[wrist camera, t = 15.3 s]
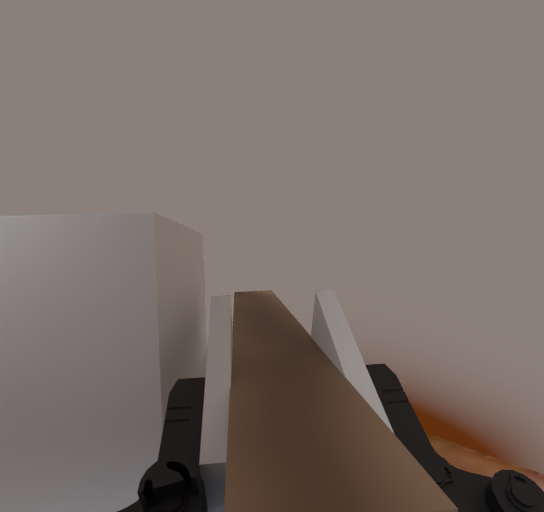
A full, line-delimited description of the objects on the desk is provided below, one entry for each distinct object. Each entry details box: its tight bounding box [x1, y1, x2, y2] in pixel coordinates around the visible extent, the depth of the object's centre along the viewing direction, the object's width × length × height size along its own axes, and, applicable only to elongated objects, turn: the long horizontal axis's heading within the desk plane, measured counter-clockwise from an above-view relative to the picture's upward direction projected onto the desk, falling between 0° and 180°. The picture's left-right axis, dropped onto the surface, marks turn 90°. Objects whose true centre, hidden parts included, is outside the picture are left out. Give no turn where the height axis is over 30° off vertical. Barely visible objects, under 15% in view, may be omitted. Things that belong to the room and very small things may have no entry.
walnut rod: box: [224, 291, 458, 512], centre depth 19 cm, size 4×28×4 cm, turn 6°
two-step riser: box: [0, 212, 208, 512], centre depth 27 cm, size 20×22×30 cm
